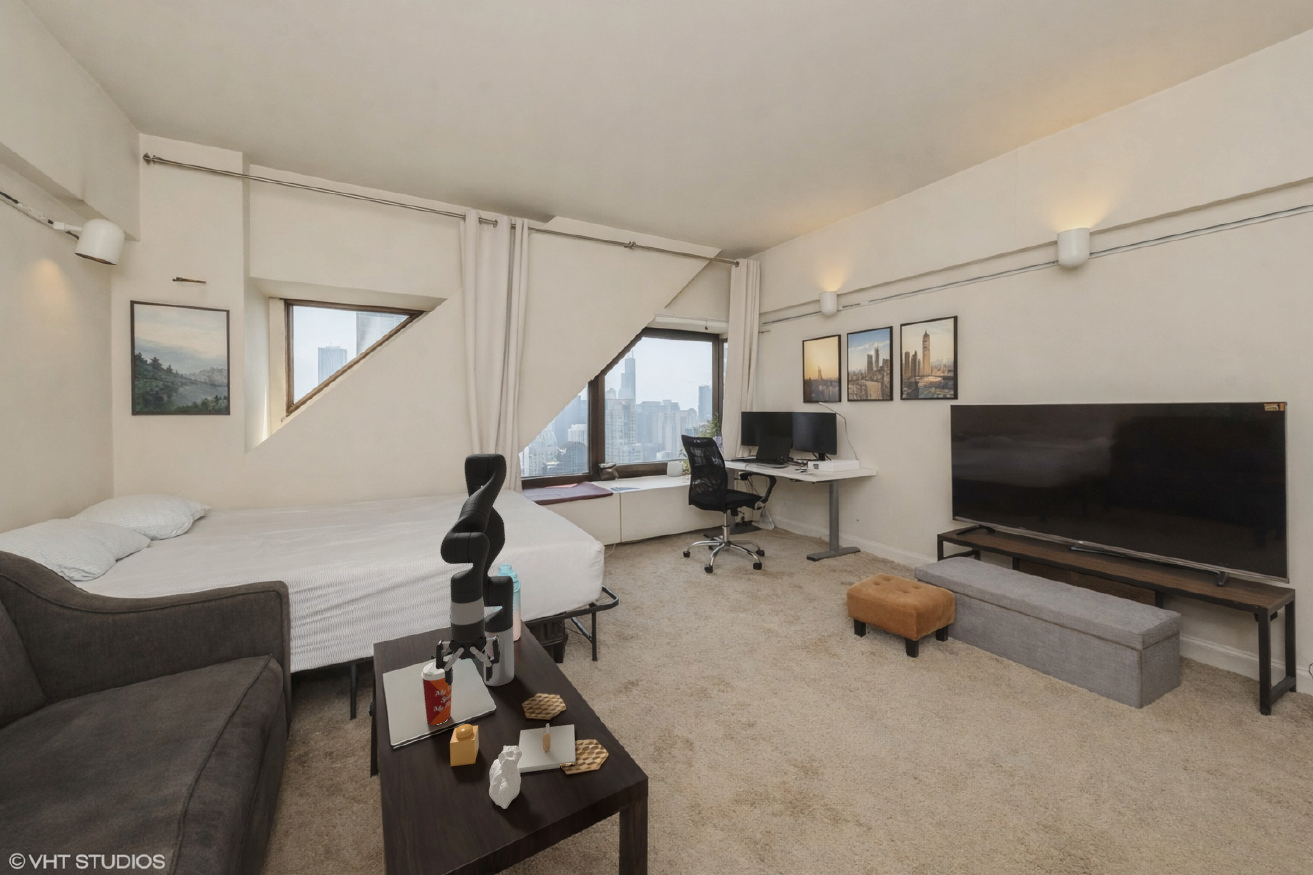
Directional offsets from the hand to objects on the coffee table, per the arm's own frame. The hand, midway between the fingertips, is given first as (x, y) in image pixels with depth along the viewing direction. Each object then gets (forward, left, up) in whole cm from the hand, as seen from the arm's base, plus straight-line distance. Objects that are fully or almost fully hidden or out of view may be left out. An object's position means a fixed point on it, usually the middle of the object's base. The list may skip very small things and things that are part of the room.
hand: (469, 681), depth 119 cm
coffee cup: (-21, -12, -22) cm, 33 cm away
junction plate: (-3, +18, -22) cm, 28 cm away
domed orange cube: (-4, -2, -22) cm, 22 cm away
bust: (+10, +9, -22) cm, 26 cm away
